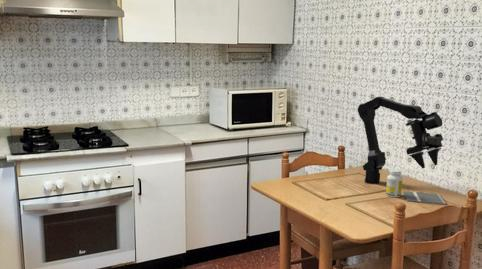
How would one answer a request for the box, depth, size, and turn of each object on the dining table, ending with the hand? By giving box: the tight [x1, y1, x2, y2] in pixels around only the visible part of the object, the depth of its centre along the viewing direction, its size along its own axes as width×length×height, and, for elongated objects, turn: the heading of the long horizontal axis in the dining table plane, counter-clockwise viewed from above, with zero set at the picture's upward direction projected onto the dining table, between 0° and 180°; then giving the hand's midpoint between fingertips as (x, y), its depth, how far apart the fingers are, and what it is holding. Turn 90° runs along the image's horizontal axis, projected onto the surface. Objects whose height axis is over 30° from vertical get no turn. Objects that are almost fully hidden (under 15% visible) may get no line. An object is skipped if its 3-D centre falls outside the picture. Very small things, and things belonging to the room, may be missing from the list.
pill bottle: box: [385, 169, 403, 198], centre depth 209 cm, size 6×6×12 cm
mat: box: [402, 190, 447, 206], centre depth 207 cm, size 16×14×1 cm
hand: (430, 166), depth 207 cm, fingers open, 9 cm apart
